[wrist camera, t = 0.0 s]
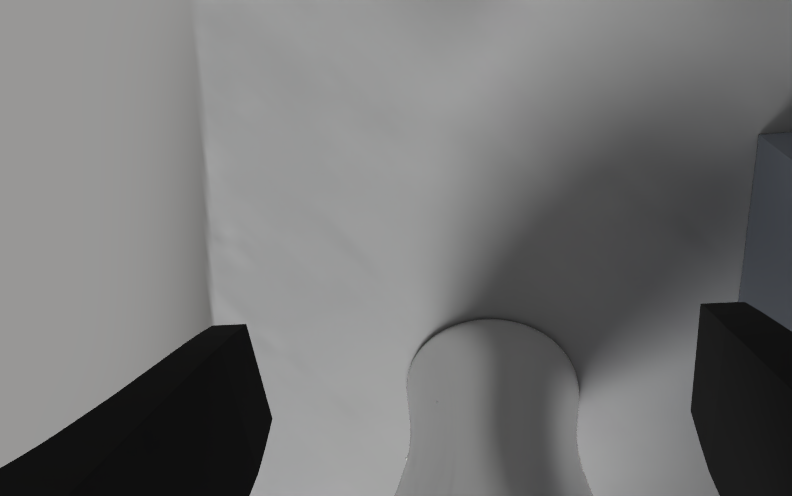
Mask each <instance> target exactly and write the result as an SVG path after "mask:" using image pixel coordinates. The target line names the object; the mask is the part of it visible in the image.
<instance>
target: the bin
mask: <svg viewBox="0 0 792 496" xmlns="http://www.w3.org/2000/svg"><path fill="white" fill-rule="evenodd" d="M738 302H746V303H748V304H749V305H751V306H753V307H754V308H756V309H758V310H759V311H761V312H763V313H764V314H766V315H767V316H769V317H770V318H772V319H774V320H775V321H777V322H778V323H780V324H781V325H783V326H784V327H786V328H787V329H789V330H790V331H792V132H787V133H775V134H763V135H759V139H758V147H757V155H756V163H755V171H754V179H753V187H752V196H751V204H750V212H749V220H748V228H747V236H746V244H745V253H744V261H743V269H742V277H741V285H740V293H739V301H738Z"/></svg>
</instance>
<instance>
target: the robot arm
mask: <svg viewBox="0 0 792 496" xmlns="http://www.w3.org/2000/svg"><path fill="white" fill-rule="evenodd" d="M691 413H692V417H693V420H694V423H695V427H696V430H697V434H698V437H699V441H700V444H701V447H702V450H703V454H704V457H705V460H706V463H707V466H708V469H709V472H710V474H711V477H712V479H713V481H714V484H715V486H716V488H717V490H718V493H719V495H720V496H792V331H790V330H789V329H787V328H786V327H784V326H783V325H781V324H780V323H778V322H777V321H775V320H774V319H772V318H770V317H769V316H767V315H766V314H764V313H763V312H761V311H759V310H758V309H756V308H754V307H753V306H751V305H749V304H748V303H746V302H731V303H709V304H701V307H700V318H699V328H698V339H697V350H696V360H695V371H694V382H693V392H692V403H691ZM271 422H272V416H271V412H270V409H269V405H268V401H267V398H266V394H265V391H264V387H263V383H262V380H261V376H260V373H259V369H258V365H257V362H256V358H255V355H254V351H253V347H252V344H251V340H250V336H249V333H248V329H247V326H246V324H240V325H218V326H211V327H209V328H208V329H206V330H204V331H203V332H201V333H200V334H198V335H197V336H195V337H194V338H192V339H191V340H189V341H188V342H187V343H185V344H183V345H182V346H181V347H179V348H178V349H176V350H175V351H174V352H172V353H171V354H170V355H168V356H167V357H165V358H164V359H163V360H161V361H160V362H159V363H157V364H156V365H154V366H153V367H152V368H151V369H149V370H148V371H146V372H145V373H143V374H142V375H141V376H139V377H138V378H137V379H135V380H134V381H132V382H131V383H130V384H128V385H127V386H126V387H124V388H123V389H121V390H120V391H119V392H117V393H116V394H114V395H113V396H112V397H110V398H109V399H108V400H106V401H104V402H103V403H101V404H100V405H98V406H97V407H96V408H94V409H93V410H91V411H90V412H88V413H87V414H85V415H84V416H82V417H81V418H79V419H78V420H76V421H75V422H73V423H72V424H70V425H69V426H68V427H66V428H64V429H63V430H62V431H60V432H59V433H57V434H56V435H54V436H53V437H51V438H49V439H48V440H46V441H45V442H43V443H42V444H40V445H38V446H37V447H35V448H34V449H32V450H30V451H29V452H27V453H25V454H24V455H22V456H20V457H19V458H17V459H15V460H14V461H12V462H10V463H8V464H7V465H5V466H3V467H1V468H0V496H249V495H250V493H251V490H252V488H253V485H254V483H255V480H256V477H257V475H258V472H259V468H260V465H261V461H262V458H263V454H264V450H265V447H266V442H267V438H268V434H269V430H270V426H271Z"/></svg>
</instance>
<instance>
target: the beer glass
mask: <svg viewBox="0 0 792 496" xmlns="http://www.w3.org/2000/svg"><path fill="white" fill-rule="evenodd" d="M406 389H407V401H408V409H409V418H410V444H409V451H408V456H407V457H406V459H407V460H406V465H405V468H404V470H403V473H402V476H401V479H400V482H399V485H398V488H397V490H396V493H395V495H394V496H593V494H592V491H591V489H590V486H589V484H588V481H587V479H586V476H585V474H584V471H583V468H582V464H581V460H580V456H579V452H578V444H577V423H578V411H579V385H578V379H577V375H576V372H575V369H574V367H573V365H572V363H571V361H570V359H569V358H568V356H567V355H566V353H565V352H564V351H563V350H562V349H561V347H560V346H559V345H558V344H557V343H555V342H554V341H553V340H552V339H551V338H549V337H548V336H546V335H545V334H543V333H542V332H540V331H538V330H536V329H534V328H532V327H529V326H527V325H524V324H521V323H517V322H513V321H508V320H500V319H480V320H472V321H467V322H463V323H460V324H457V325H454V326H451V327H449V328H447V329H445V330H443V331H441V332H439V333H438V334H436V335H435V336H434V337H432V338H431V339H430V340H429V341H427V342H426V343H425V344H424V345H423V347H422V348H421V349H420V350H419V352H418V353H417V355H416V356H415V358H414V360H413V362H412V364H411V366H410V369H409V372H408V377H407V387H406Z"/></svg>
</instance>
